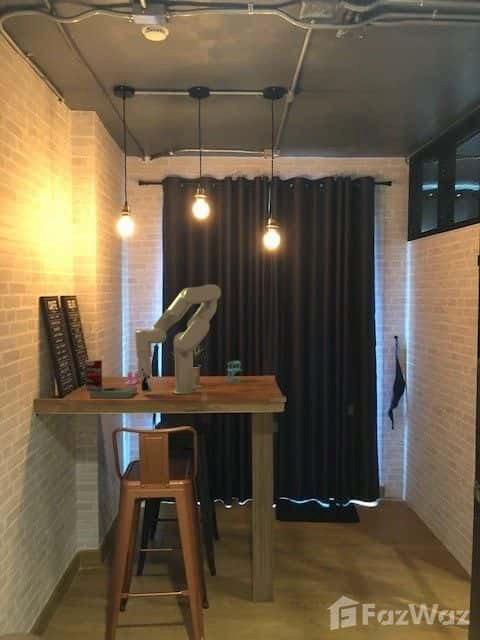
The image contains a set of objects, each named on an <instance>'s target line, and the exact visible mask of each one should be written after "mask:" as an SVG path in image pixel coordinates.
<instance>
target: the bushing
mask: <svg viewBox="0 0 480 640" xmlns="http://www.w3.org/2000/svg"><path fill="white" fill-rule="evenodd" d="M145 380H146V378H145ZM140 383H141V382H140ZM147 383H148V391H142V390H141V392H142V393H145V394H146V393H152V392H153V388H152V385H153V384H152V377H147ZM141 385H142V383H141Z"/></svg>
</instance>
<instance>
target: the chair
mask: <svg viewBox="0 0 480 640" xmlns="http://www.w3.org/2000/svg"><path fill="white" fill-rule="evenodd" d="M230 365H231V367H230ZM241 365H242V362H241V361H239V360H231V361H230V362H228V363H227V366H228V368H226V369H227V370H226V371H228V372H227V379H226V381H227V382H228V383H234V382H235V383H238V382H239V383H240V382H242V383H243V382H244V379H242V378H240V377H235V378H233V377H234V376H235V374H236V373H238V372H242V370H243V369H242V368H241ZM234 366H235V367H234ZM236 379H238V380H236Z"/></svg>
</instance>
